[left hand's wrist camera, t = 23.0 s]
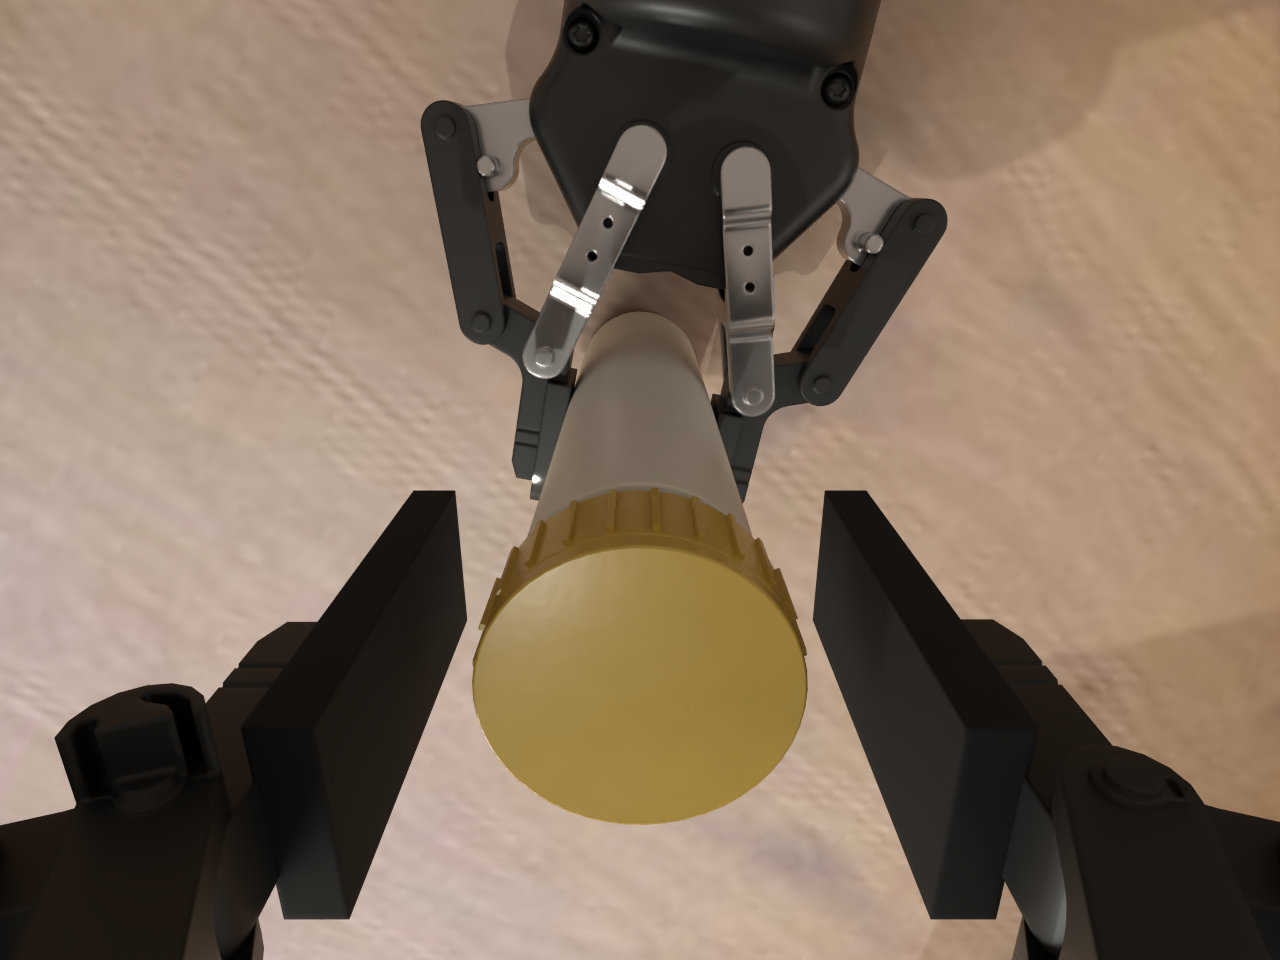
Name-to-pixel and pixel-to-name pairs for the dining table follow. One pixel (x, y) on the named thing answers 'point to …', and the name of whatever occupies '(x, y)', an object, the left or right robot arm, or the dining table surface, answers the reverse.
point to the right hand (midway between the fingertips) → (622, 502)
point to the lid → (640, 660)
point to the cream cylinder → (640, 423)
